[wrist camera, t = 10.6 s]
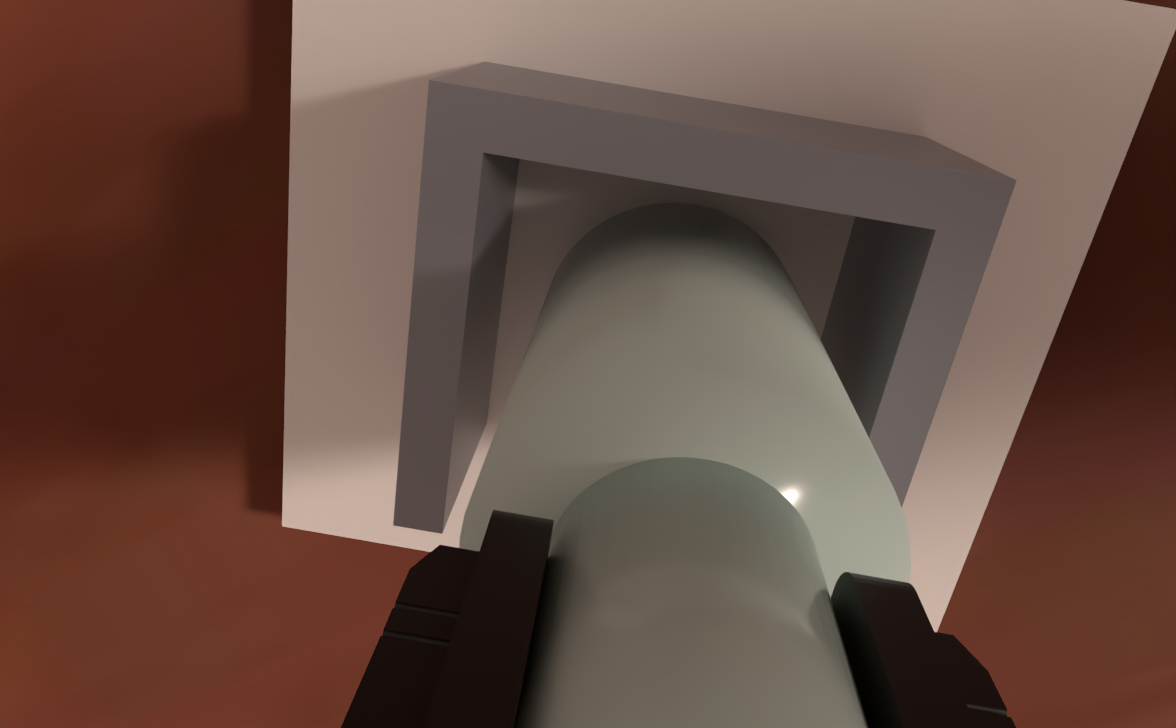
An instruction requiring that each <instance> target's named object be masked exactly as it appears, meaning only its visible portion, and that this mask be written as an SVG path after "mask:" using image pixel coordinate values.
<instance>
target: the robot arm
mask: <svg viewBox="0 0 1176 728" xmlns="http://www.w3.org/2000/svg"><path fill="white" fill-rule="evenodd" d="M553 524H554V520H550V519H545V518H539V517H533V516H527V515H522V514H516V513H510V512H504V511H499V510H493V512H492V514H491V517H490V520H489V523H488V527H487V530H486V533H485V536H484V539H483V542H482V545H481V548H480V551H473V550H468V549H462V548H456V547H450V546H445V545H439V546H438V547H436V548H435V549H434V550H433V551H432V552H430V553H429V554H428V555H427V556H425V557H424V558H423V559H422V560H420V561H419V562H418V563H417V564H416V565H414V566H413V567H412V568H411V569H410V570H409V572H408V575H407V577H406V579H405V582H404V584H403V586H402V588H401V591H400V593H399V595H398V598H397V600H396V604H395V608H393V609H392V611H391V614H390V616H389V618H388V621H387V623H386V625H385V627H384V631H383V635H382V636H381V637H380V639H379V641H378V644H377V646H376V648H375V650H374V653H373V655H372V657H371V660H370V662H369V664H368V666H367V669H366V671H365V673H364V676H363V678H362V680H361V683H360V685H359V687H358V689H357V692H356V694H355V696H354V699H353V701H352V703H351V705H350V708H349V710H348V712H347V715H346V717H345V719H344V722H343V724H342V726H341V728H515V725H516V720H517V715H518V709H519V704H520V699H521V694H522V689H523V684H524V679H525V674H526V668H527V663H528V658H529V653H530V648H531V643H532V638H533V632H534V627H535V622H536V617H537V612H538V607H539V602H540V597H541V591H542V586H543V581H544V576H545V571H546V566H547V561H548V555H549V549H550V543H551V537H552V531H553ZM831 602H832V605H833V608H834V612H835V615H836V619H837V622H838V625H839V629H840V632H841V636H842V639H843V642H844V646H845V649H846V653H847V656H848V659H849V663H850V666H851V670H852V673H853V676H854V680H855V683H856V686H857V690H858V693H859V697H860V700H861V703H862V707H863V710H864V714H865V717H866V720H867V724H868V727H869V728H1016V727H1015V725H1014V723H1013V721H1012V719H1011V717H1007V715H1006V712H1007V709H1006V707H1005V705H1004V703H1003V701H1002V699H1001V697H1000V695H999V693H998V691H997V689H996V687H995V685H994V683H993V681H992V678H991V676H990V674H989V672H988V671H987V670H986V669H985V668H984V667H983V666H982V665H981V663H980V662H979V661H978V660H977V659H976V658H975V657H974V656H973V655H972V654H971V653H970V652H969V651H968V650H967V649H966V648H965V647H964V646H963V645H962V644H961V643H960V642H959V641H958V640H957V639H956V637H955V636H954V635H949V634H943V633H938V632H934V630H933V628H932V626H931V623H930V621H929V619H928V617H927V614H926V612H925V610H924V608H923V605H922V603H921V601H920V599H919V596H918V594H917V592H916V590H915V588H914V587H913V586H912V585H911V584H910V583H907V582H901V581H896V580H890V579H884V578H879V577H873V576H867V575H861V574H856V573H850V572H844V573H843V574H842V575H840V577H839V578H838V580H837V582H836V584H835V587H834V590H833V593H832V596H831Z"/></svg>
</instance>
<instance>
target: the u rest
mask: <svg viewBox="0 0 1176 728" xmlns="http://www.w3.org/2000/svg"><path fill="white" fill-rule="evenodd" d="M1175 30H1176V9H1172V8H1166V7H1160V6H1154V5H1148V4H1142V3H1136V2H1131V1H1125V0H293V14H292V63H291V111H290V160H289V209H288V258H287V306H286V355H285V404H284V452H283V501H282V526H284V527H290V528H296V529H301V530H307V531H313V532H319V533H324V534H330V535H336V536H342V537H347V538H353V539H359V540H365V541H370V542H376V543H382V544H388V545H394V546H399V547H405V548H411V549H417V550H422V551H428V552H432V551H433V550H434V549H435V548H436V547H438V546H439V545H445V546H450V547H456V548H459V543H460V534H461V529H462V524H463V519H464V514H465V512H466V509H467V506H468V503H469V501H470V498H471V495H472V492H473V490H474V487H475V484H476V482H477V479H478V476H479V474H480V471H481V468H482V466H483V463H484V461H485V458H486V455H487V453H488V450H489V447H490V445H491V442H492V439H493V437H494V434H495V431H496V429H497V426H498V423H499V421H500V418H501V415H502V413H503V410H504V407H505V405H506V402H507V399H508V397H509V394H510V391H511V389H512V386H513V383H514V381H515V378H516V376H517V373H518V370H519V368H520V365H521V362H522V360H523V357H524V354H525V352H526V349H527V346H528V344H529V341H530V338H531V336H532V333H533V330H534V328H535V325H536V322H537V320H538V317H539V314H540V312H541V309H542V306H543V304H544V301H545V298H546V296H547V293H548V291H549V288H550V285H551V283H552V280H553V277H554V275H555V273H556V272H557V270H558V268H559V266H560V264H561V262H562V261H563V260H564V258H565V257H566V255H567V254H568V253H569V251H570V250H571V249H572V248H573V247H574V246H575V244H576V243H577V242H578V241H579V240H580V239H581V238H582V237H583V236H585V235H586V234H587V233H588V232H590V231H591V230H592V229H593V228H595V227H596V226H598V225H599V224H601V223H603V222H604V221H606V220H607V219H609V218H611V217H613V216H616V215H618V214H620V213H622V212H625V211H628V210H631V209H634V208H638V207H641V206H646V205H653V204H659V203H683V204H693V205H698V206H702V207H707V208H711V209H714V210H717V211H719V212H722V213H724V214H727V215H729V216H731V217H733V218H735V219H736V220H738V221H740V222H742V223H744V224H745V225H746V226H748V227H749V228H750V229H752V230H753V231H755V232H756V233H757V234H758V235H759V236H760V237H761V238H762V239H763V240H764V241H765V242H766V243H767V244H768V245H769V246H770V247H771V248H772V249H773V251H774V252H775V253H776V255H777V256H778V257H779V259H780V260H781V262H782V264H783V266H784V267H785V269H786V271H787V273H788V275H789V277H790V279H791V281H792V283H793V285H794V287H795V289H796V291H797V293H798V295H799V297H800V299H801V301H802V303H803V305H804V307H805V309H806V311H807V313H808V315H809V317H810V319H811V321H812V323H813V326H814V328H815V330H816V332H817V334H818V336H819V338H820V340H821V342H822V344H823V346H824V348H825V350H826V352H827V354H828V356H829V358H830V360H831V362H832V364H833V366H834V368H835V370H836V372H837V374H838V376H839V378H840V380H841V382H842V384H843V386H844V388H845V390H846V392H847V394H848V397H849V399H850V401H851V403H852V405H853V407H854V409H855V411H856V413H857V415H858V417H859V419H860V421H861V423H862V425H863V427H864V429H865V431H866V433H867V435H868V437H869V439H870V441H871V443H872V445H873V447H874V449H875V451H876V453H877V455H878V457H879V459H880V461H881V463H882V465H883V468H884V470H885V472H886V474H887V476H888V478H889V480H890V482H891V484H892V486H893V488H894V490H895V492H896V495H897V497H898V500H899V502H900V505H901V508H902V510H903V513H904V516H905V520H906V525H907V529H908V534H909V539H910V554H911V571H910V580H909V583H910V584H911V585H912V586H913V587H914V588H915V590H916V592H917V594H918V596H919V599H920V601H921V603H922V605H923V608H924V610H925V612H926V614H927V617H928V619H929V621H930V623H931V626H932V628H933V630H934V632H937V631H938V628H939V625H940V623H941V620H942V618H943V615H944V613H945V610H946V608H947V605H948V603H949V600H950V598H951V595H952V593H953V590H954V588H955V585H956V583H957V580H958V578H959V575H960V572H961V570H962V567H963V565H964V562H965V560H966V557H967V555H968V552H969V550H970V547H971V545H972V542H973V540H974V537H975V535H976V532H977V530H978V527H979V524H980V522H981V519H982V517H983V514H984V512H985V509H986V507H987V504H988V502H989V499H990V497H991V494H992V492H993V489H994V487H995V484H996V482H997V479H998V477H999V474H1000V471H1001V469H1002V466H1003V464H1004V461H1005V459H1006V456H1007V454H1008V451H1009V449H1010V446H1011V444H1012V441H1013V439H1014V436H1015V434H1016V431H1017V429H1018V426H1019V424H1020V421H1021V418H1022V416H1023V413H1024V411H1025V408H1026V406H1027V403H1028V401H1029V398H1030V396H1031V393H1032V391H1033V388H1034V386H1035V383H1036V381H1037V378H1038V376H1039V373H1040V370H1041V368H1042V365H1043V363H1044V360H1045V358H1046V355H1047V353H1048V350H1049V348H1050V345H1051V343H1052V340H1053V338H1054V335H1055V333H1056V330H1057V328H1058V325H1059V323H1060V320H1061V317H1062V315H1063V312H1064V310H1065V307H1066V305H1067V302H1068V300H1069V297H1070V295H1071V292H1072V290H1073V287H1074V285H1075V282H1076V280H1077V277H1078V275H1079V272H1080V270H1081V267H1082V264H1083V262H1084V259H1085V257H1086V254H1087V252H1088V249H1089V247H1090V244H1091V242H1092V239H1093V237H1094V234H1095V232H1096V229H1097V227H1098V224H1099V222H1100V219H1101V217H1102V214H1103V211H1104V209H1105V206H1106V204H1107V201H1108V199H1109V196H1110V194H1111V191H1112V189H1113V186H1114V184H1115V181H1116V179H1117V176H1118V174H1119V171H1120V169H1121V166H1122V163H1123V161H1124V158H1125V156H1126V153H1127V151H1128V148H1129V146H1130V143H1131V141H1132V138H1133V136H1134V133H1135V131H1136V128H1137V126H1138V123H1139V121H1140V118H1141V116H1142V113H1143V110H1144V108H1145V105H1146V103H1147V100H1148V98H1149V95H1150V93H1151V90H1152V88H1153V85H1154V83H1155V80H1156V78H1157V75H1158V73H1159V70H1160V68H1161V65H1162V63H1163V60H1164V57H1165V55H1166V52H1167V50H1168V47H1169V45H1170V42H1171V40H1172V37H1173V35H1174V32H1175Z"/></svg>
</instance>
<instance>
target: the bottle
mask: <svg viewBox="0 0 1176 728" xmlns="http://www.w3.org/2000/svg"><path fill="white" fill-rule="evenodd" d="M493 510H499V511H504V512H510V513H516V514H522V515H527V516H533V517H539V518H545V519H550V520H554V524H553V531H552V537H551V543H550V549H549V555H548V561H547V566H546V571H545V576H544V581H543V586H542V591H541V597H540V602H539V607H538V612H537V617H536V622H535V627H534V632H533V638H532V643H531V648H530V653H529V658H528V663H527V668H526V674H525V679H524V684H523V689H522V694H521V699H520V704H519V709H518V715H517V720H516V725H515V728H869V727H868V724H867V720H866V717H865V714H864V710H863V707H862V703H861V700H860V697H859V693H858V690H857V686H856V683H855V680H854V676H853V673H852V670H851V666H850V663H849V659H848V656H847V653H846V649H845V646H844V642H843V639H842V636H841V632H840V629H839V625H838V622H837V619H836V615H835V612H834V608H833V605H832V602H831V596H832V593H833V590H834V587H835V584H836V582H837V580H838V578H839V577H840V575H842V574H843V573H844V572H850V573H856V574H861V575H867V576H873V577H879V578H884V579H890V580H896V581H901V582H907V583H909V580H910V571H911V554H910V539H909V534H908V529H907V525H906V520H905V516H904V513H903V510H902V508H901V505H900V502H899V500H898V497H897V495H896V492H895V490H894V488H893V486H892V484H891V482H890V480H889V478H888V476H887V474H886V472H885V470H884V468H883V465H882V463H881V461H880V459H879V457H878V455H877V453H876V451H875V449H874V447H873V445H872V443H871V441H870V439H869V437H868V435H867V433H866V431H865V429H864V427H863V425H862V423H861V421H860V419H859V417H858V415H857V413H856V411H855V409H854V407H853V405H852V403H851V401H850V399H849V397H848V394H847V392H846V390H845V388H844V386H843V384H842V382H841V380H840V378H839V376H838V374H837V372H836V370H835V368H834V366H833V364H832V362H831V360H830V358H829V356H828V354H827V352H826V350H825V348H824V346H823V344H822V342H821V340H820V338H819V336H818V334H817V332H816V330H815V328H814V326H813V323H812V321H811V319H810V317H809V315H808V313H807V311H806V309H805V307H804V305H803V303H802V301H801V299H800V297H799V295H798V293H797V291H796V289H795V287H794V285H793V283H792V281H791V279H790V277H789V275H788V273H787V271H786V269H785V267H784V266H783V264H782V262H781V260H780V259H779V257H778V256H777V255H776V253H775V252H774V251H773V249H772V248H771V247H770V246H769V245H768V244H767V243H766V242H765V241H764V240H763V239H762V238H761V237H760V236H759V235H758V234H757V233H756V232H755V231H753V230H752V229H750V228H749V227H748V226H746V225H745V224H744V223H742V222H740V221H738V220H736V219H735V218H733V217H731V216H729V215H727V214H724V213H722V212H719V211H717V210H714V209H711V208H707V207H702V206H698V205H693V204H683V203H659V204H653V205H646V206H641V207H638V208H634V209H631V210H628V211H625V212H622V213H620V214H618V215H616V216H613V217H611V218H609V219H607V220H606V221H604V222H603V223H601V224H599V225H598V226H596V227H595V228H593V229H592V230H591V231H590V232H588V233H587V234H586V235H585V236H583V237H582V238H581V239H580V240H579V241H578V242H577V243H576V244H575V246H574V247H573V248H572V249H571V250H570V251H569V253H568V254H567V255H566V257H565V258H564V260H563V261H562V262H561V264H560V266H559V268H558V270H557V272H556V273H555V275H554V277H553V280H552V283H551V285H550V288H549V291H548V293H547V296H546V298H545V301H544V304H543V306H542V309H541V312H540V314H539V317H538V320H537V322H536V325H535V328H534V330H533V333H532V336H531V338H530V341H529V344H528V346H527V349H526V352H525V354H524V357H523V360H522V362H521V365H520V368H519V370H518V373H517V376H516V378H515V381H514V383H513V386H512V389H511V391H510V394H509V397H508V399H507V402H506V405H505V407H504V410H503V413H502V415H501V418H500V421H499V423H498V426H497V429H496V431H495V434H494V437H493V439H492V442H491V445H490V447H489V450H488V453H487V455H486V458H485V461H484V463H483V466H482V468H481V471H480V474H479V476H478V479H477V482H476V484H475V487H474V490H473V492H472V495H471V498H470V501H469V503H468V506H467V509H466V512H465V514H464V519H463V524H462V529H461V534H460V543H459V548H462V549H468V550H473V551H480V548H481V545H482V542H483V539H484V536H485V533H486V530H487V527H488V523H489V520H490V517H491V514H492V512H493Z"/></svg>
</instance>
